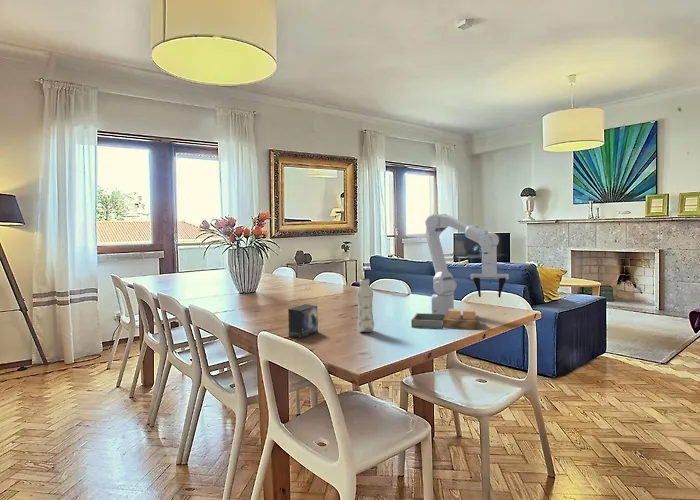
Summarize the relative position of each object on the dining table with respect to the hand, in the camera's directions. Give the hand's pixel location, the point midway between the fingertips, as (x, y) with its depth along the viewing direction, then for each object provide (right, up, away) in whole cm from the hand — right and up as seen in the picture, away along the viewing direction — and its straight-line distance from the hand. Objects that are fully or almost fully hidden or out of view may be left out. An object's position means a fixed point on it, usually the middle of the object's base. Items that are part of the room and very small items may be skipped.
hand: (489, 296), depth 175 cm
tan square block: (-15, -8, -4) cm, 17 cm away
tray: (-25, -11, -1) cm, 27 cm away
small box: (-73, -13, -11) cm, 75 cm away
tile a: (-10, -8, -6) cm, 14 cm away
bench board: (-12, -11, -5) cm, 17 cm away
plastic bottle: (-50, -12, -10) cm, 53 cm away
